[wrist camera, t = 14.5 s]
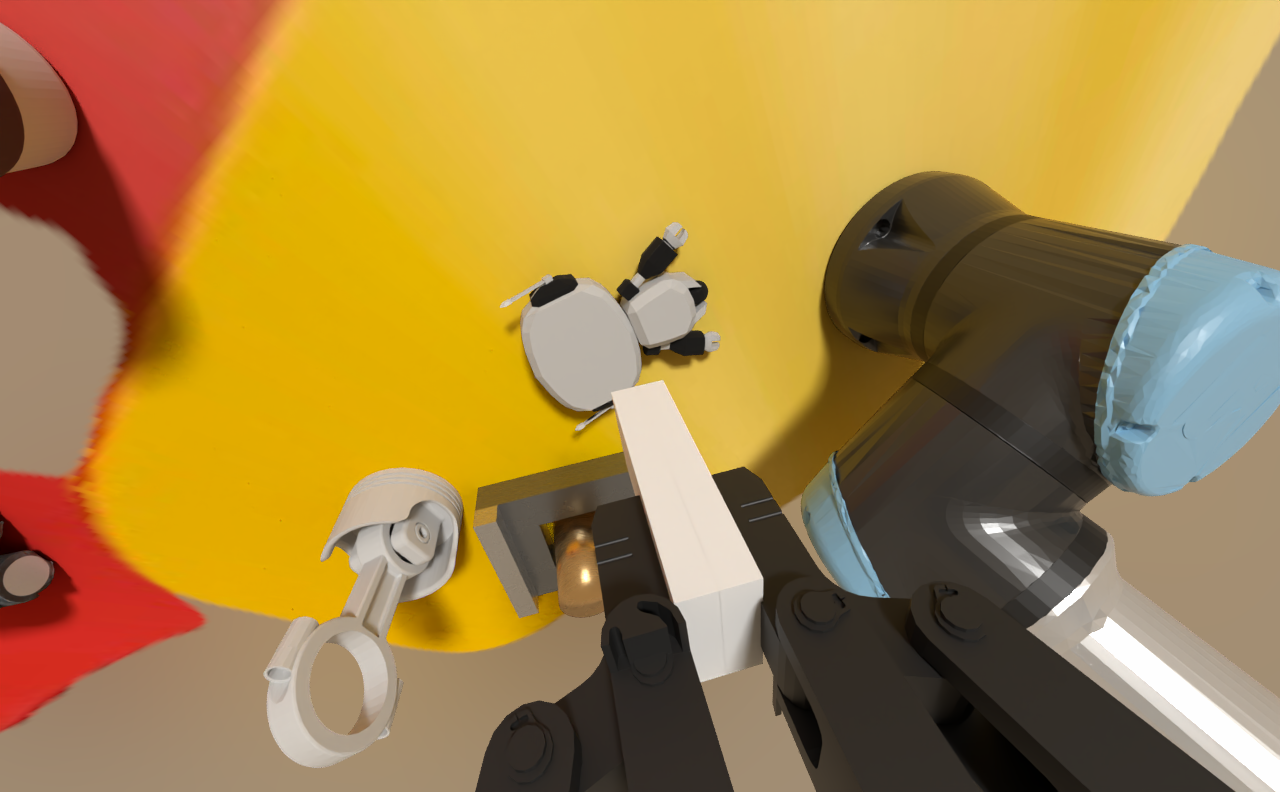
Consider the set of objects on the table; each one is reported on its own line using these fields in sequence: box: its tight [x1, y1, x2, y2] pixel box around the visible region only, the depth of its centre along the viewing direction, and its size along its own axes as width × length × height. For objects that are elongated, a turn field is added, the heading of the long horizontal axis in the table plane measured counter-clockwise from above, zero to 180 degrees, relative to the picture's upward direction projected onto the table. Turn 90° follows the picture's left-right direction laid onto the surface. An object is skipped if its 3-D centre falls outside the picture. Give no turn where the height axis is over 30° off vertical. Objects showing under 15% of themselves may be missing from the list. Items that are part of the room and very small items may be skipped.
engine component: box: [264, 468, 463, 768], centre depth 35 cm, size 11×20×10 cm
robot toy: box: [500, 222, 720, 431], centre depth 36 cm, size 12×4×15 cm
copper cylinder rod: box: [553, 511, 604, 618], centre depth 44 cm, size 5×5×10 cm
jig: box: [473, 452, 635, 618], centre depth 46 cm, size 16×14×5 cm
